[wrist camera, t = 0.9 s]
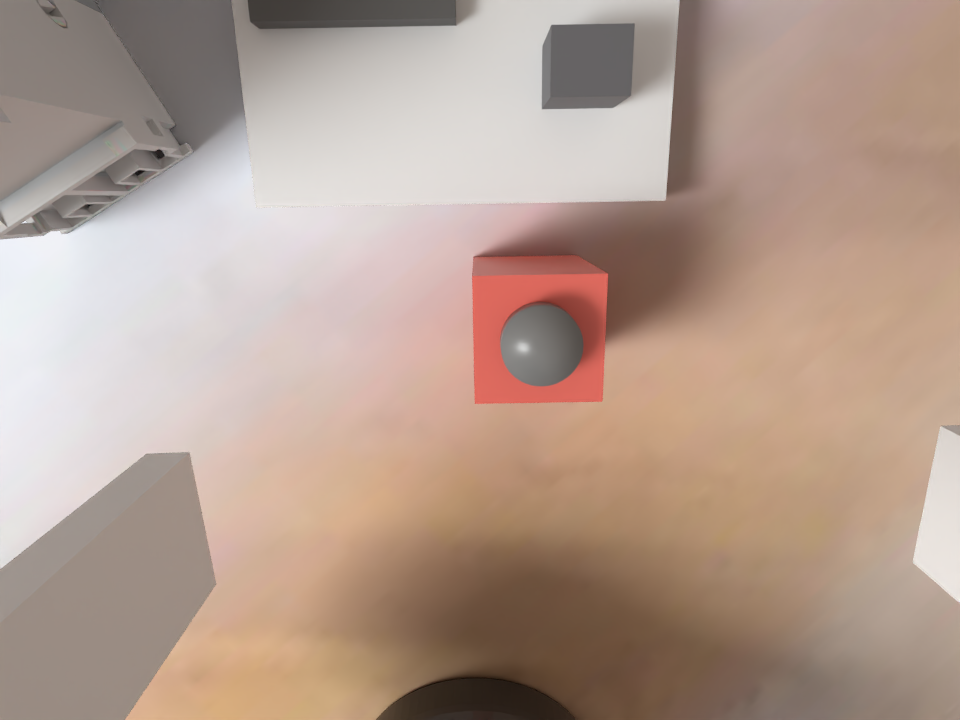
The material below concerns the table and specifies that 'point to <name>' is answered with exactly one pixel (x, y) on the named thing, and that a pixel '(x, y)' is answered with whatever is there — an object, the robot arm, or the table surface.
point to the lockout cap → (538, 329)
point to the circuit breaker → (72, 118)
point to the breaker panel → (456, 100)
